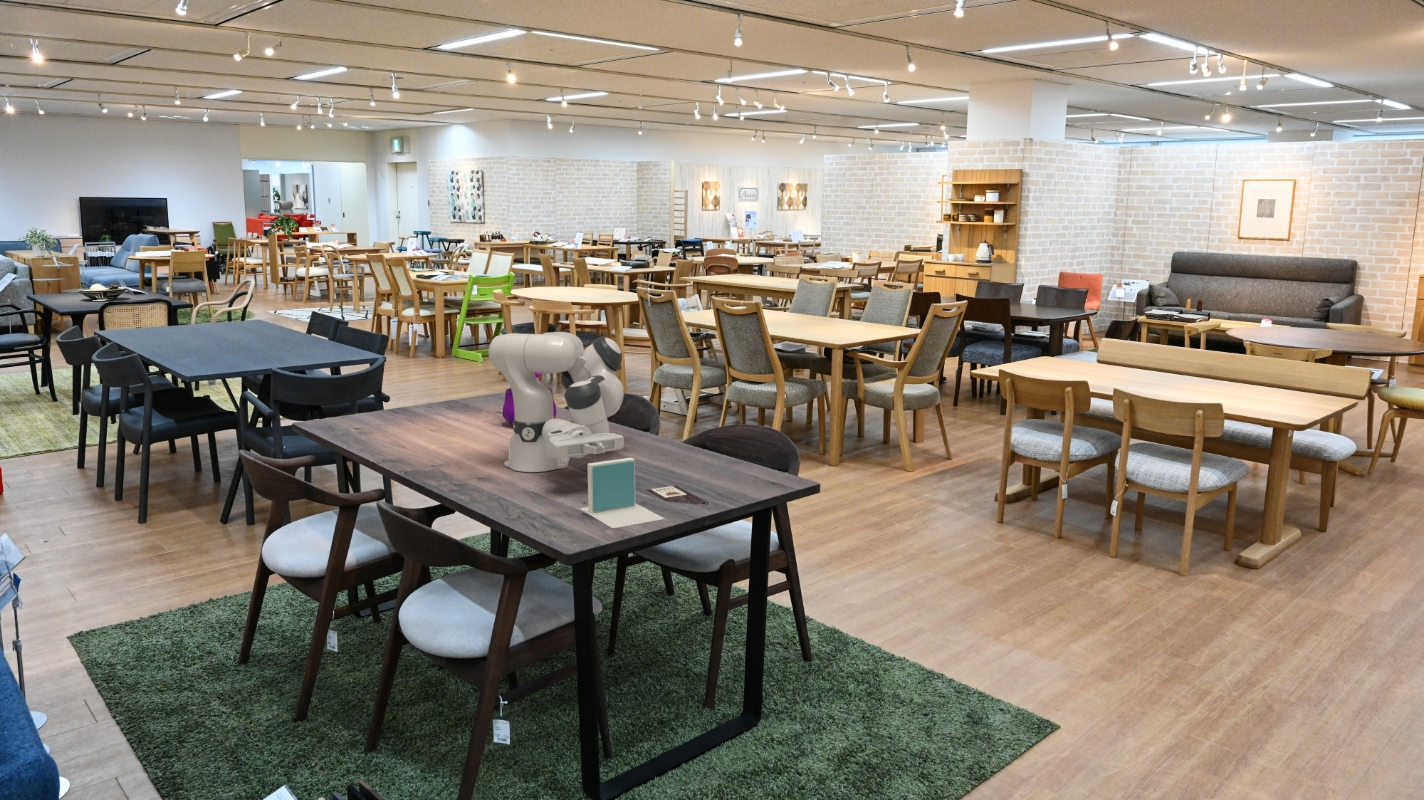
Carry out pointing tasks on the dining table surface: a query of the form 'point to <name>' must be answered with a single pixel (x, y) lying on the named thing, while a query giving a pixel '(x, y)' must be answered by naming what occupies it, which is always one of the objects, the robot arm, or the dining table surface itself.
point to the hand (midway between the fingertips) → (599, 450)
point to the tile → (611, 484)
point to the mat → (624, 516)
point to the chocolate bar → (676, 495)
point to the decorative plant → (509, 404)
